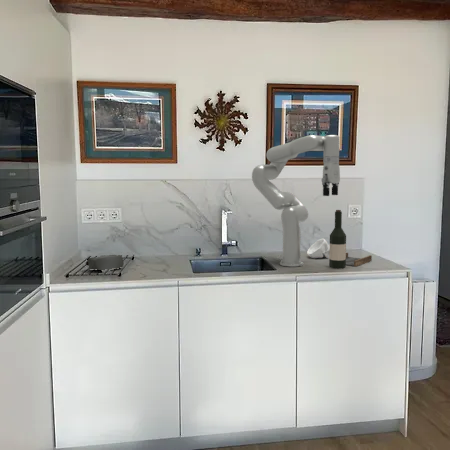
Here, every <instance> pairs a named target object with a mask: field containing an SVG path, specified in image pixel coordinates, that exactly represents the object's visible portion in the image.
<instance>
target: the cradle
mask: <svg viewBox="0 0 450 450" xmlns="http://www.w3.org/2000/svg"><path fill="white" fill-rule="evenodd" d="M372 257H373V256H372V255H367V256H364V257H361V258H359V257H354V256H353V257H351V256H349V252H346V266H347V267H355V268H357V267H359V266H361V265H364V264H365V265H366V264H367V263H371V262H372V261H373V260H372V259H373V258H372Z"/></svg>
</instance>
